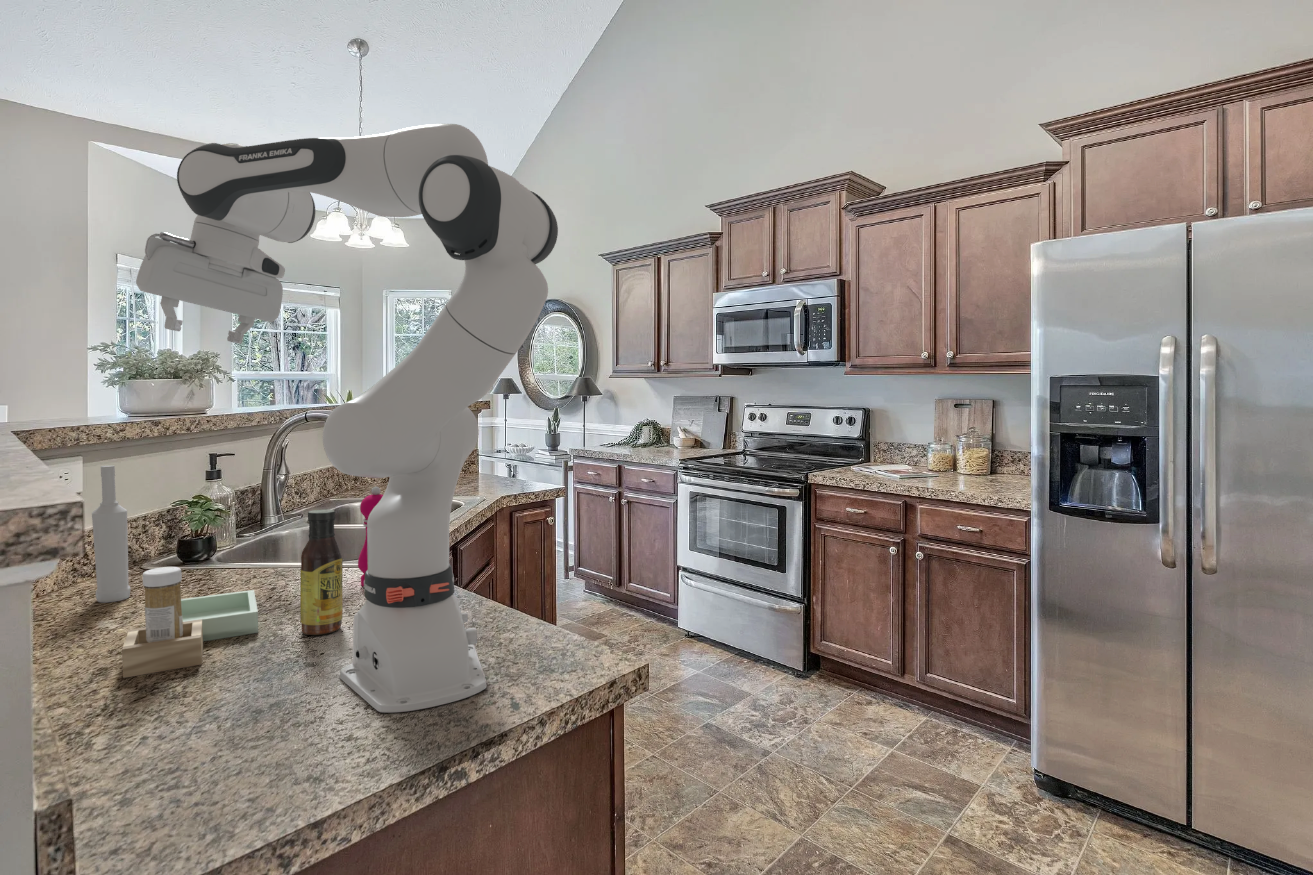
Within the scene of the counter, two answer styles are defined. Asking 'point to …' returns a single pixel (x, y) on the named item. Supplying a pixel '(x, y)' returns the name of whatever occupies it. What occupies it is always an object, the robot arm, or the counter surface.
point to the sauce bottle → (321, 577)
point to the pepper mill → (366, 509)
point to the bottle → (110, 543)
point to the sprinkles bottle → (163, 604)
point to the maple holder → (162, 651)
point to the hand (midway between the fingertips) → (204, 336)
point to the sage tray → (223, 614)
